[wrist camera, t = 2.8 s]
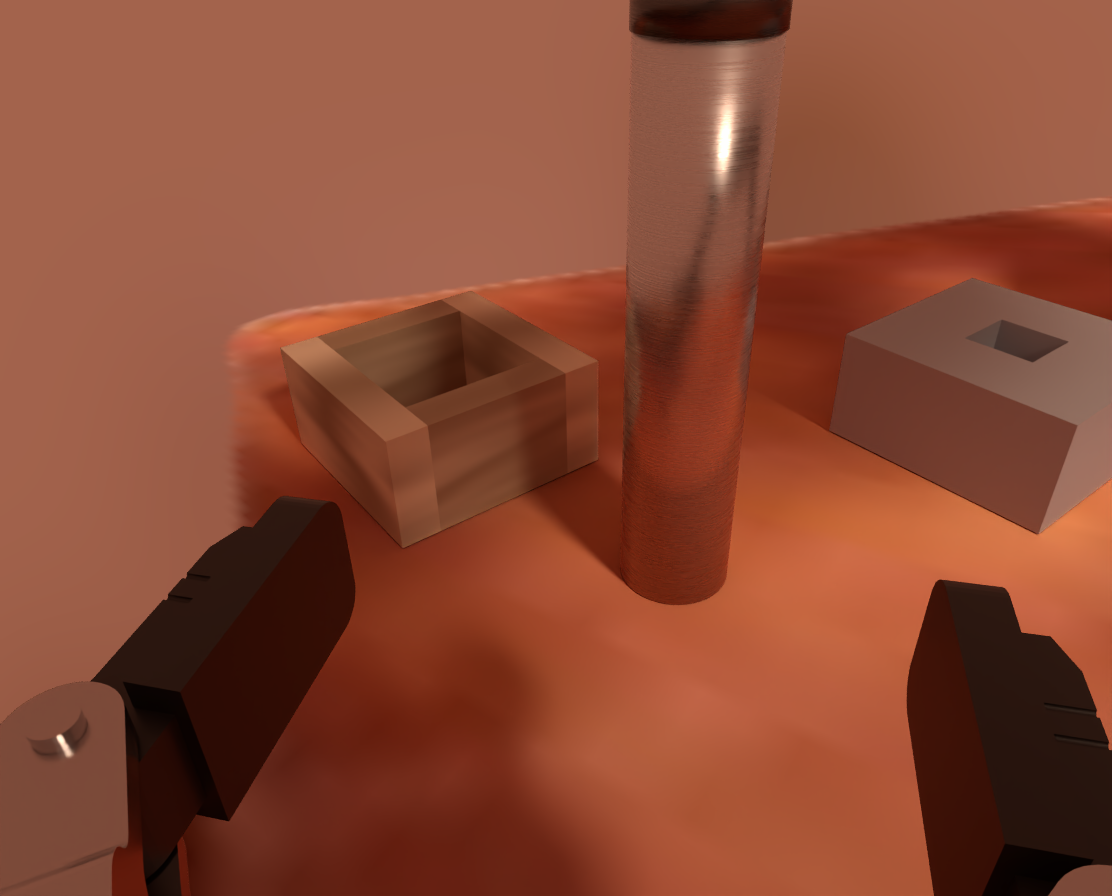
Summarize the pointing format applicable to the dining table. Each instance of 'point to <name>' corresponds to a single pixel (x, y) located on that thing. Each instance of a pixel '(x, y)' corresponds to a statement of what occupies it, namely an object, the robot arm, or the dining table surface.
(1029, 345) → the block
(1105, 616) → the dining table surface
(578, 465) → the wooden square box frame
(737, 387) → the pin
